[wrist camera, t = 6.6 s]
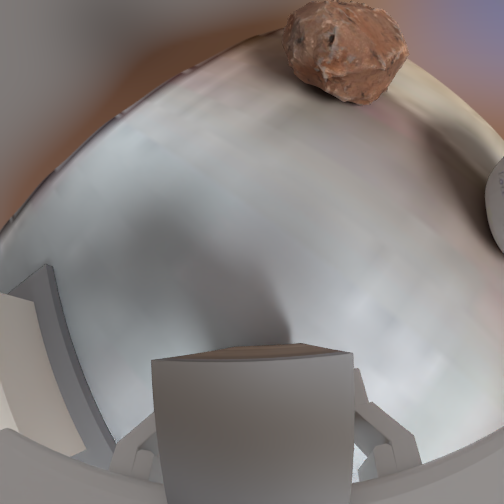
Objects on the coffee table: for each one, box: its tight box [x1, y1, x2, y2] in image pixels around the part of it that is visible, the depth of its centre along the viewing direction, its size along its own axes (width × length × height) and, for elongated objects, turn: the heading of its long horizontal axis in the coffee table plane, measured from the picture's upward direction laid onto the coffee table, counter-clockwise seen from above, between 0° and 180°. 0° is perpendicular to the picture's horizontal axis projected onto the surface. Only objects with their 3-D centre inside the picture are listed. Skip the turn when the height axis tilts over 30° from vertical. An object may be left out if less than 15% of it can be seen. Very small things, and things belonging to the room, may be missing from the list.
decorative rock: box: [282, 0, 409, 106], centre depth 19 cm, size 13×11×10 cm
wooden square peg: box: [151, 343, 355, 504], centre depth 10 cm, size 4×4×12 cm
